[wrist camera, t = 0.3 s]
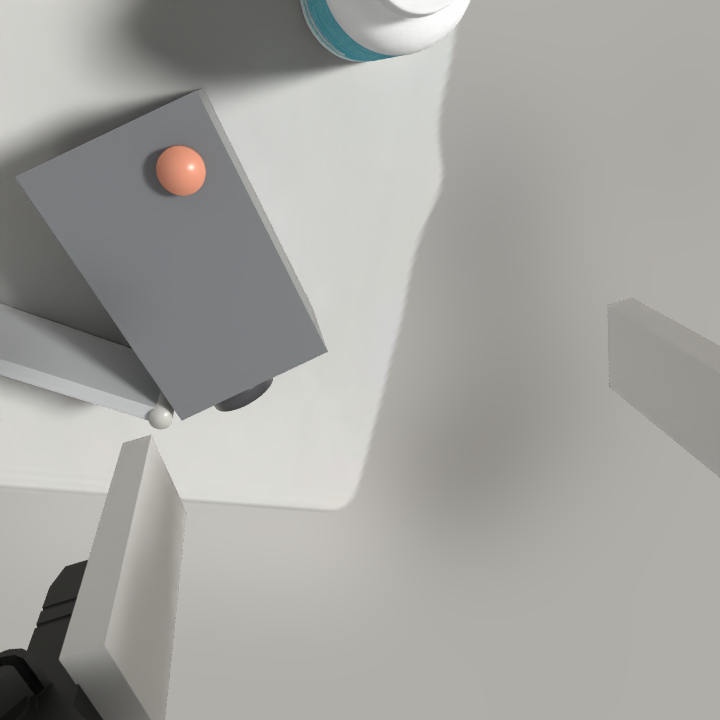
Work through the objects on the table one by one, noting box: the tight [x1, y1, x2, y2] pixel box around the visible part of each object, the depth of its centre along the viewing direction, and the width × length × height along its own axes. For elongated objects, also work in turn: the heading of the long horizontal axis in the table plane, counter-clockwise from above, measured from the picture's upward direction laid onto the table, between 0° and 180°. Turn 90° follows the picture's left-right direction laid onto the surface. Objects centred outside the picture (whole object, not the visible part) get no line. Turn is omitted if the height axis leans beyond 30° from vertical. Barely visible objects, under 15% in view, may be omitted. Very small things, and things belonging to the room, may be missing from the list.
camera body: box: [15, 89, 328, 420], centre depth 37 cm, size 18×10×9 cm, turn 23°
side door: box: [0, 303, 174, 429], centre depth 38 cm, size 14×2×7 cm, turn 63°
